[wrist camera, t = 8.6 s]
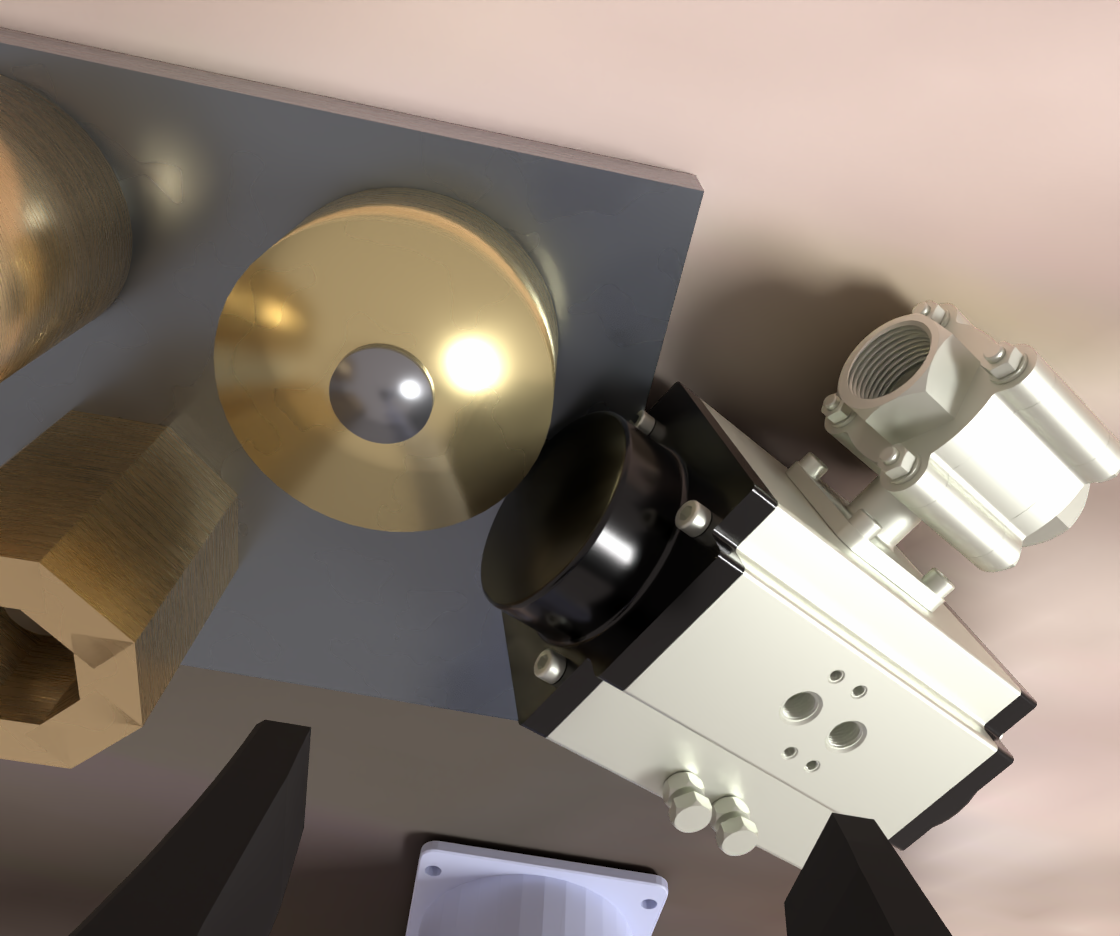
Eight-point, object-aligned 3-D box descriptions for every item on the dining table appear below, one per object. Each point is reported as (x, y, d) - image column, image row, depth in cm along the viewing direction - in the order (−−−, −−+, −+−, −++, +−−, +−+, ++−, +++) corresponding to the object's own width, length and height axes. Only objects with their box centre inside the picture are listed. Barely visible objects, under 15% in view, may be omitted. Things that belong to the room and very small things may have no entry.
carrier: (560, 687, 24) (549, 913, 18) (-30, 586, 23) (-243, 793, 17) (695, 175, 17) (748, 275, 11) (-138, -2, 16) (-556, 8, 10)
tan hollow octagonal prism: (239, 615, 21) (146, 779, 17) (31, 582, 21) (-117, 741, 16) (236, 437, 19) (128, 576, 14) (1, 398, 18) (-183, 527, 14)
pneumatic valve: (1099, 470, 21) (755, 775, 24) (792, 152, 16) (416, 583, 20) (1303, 606, 16) (842, 964, 19) (953, 210, 11) (418, 771, 15)
